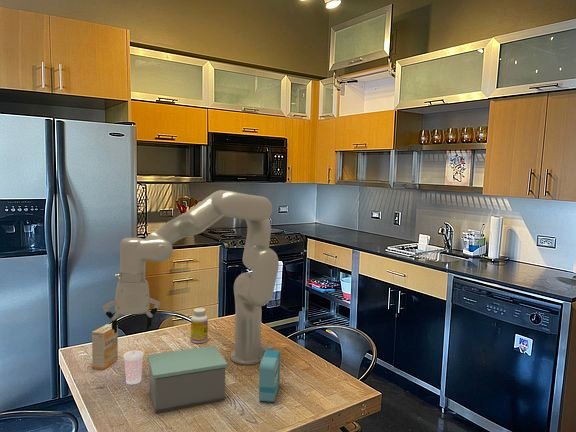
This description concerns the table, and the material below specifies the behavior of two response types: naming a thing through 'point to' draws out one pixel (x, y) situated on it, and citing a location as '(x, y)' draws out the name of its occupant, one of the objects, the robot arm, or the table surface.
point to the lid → (185, 361)
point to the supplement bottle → (199, 326)
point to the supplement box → (104, 347)
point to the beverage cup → (133, 366)
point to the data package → (269, 375)
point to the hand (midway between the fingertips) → (131, 329)
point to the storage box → (187, 390)
